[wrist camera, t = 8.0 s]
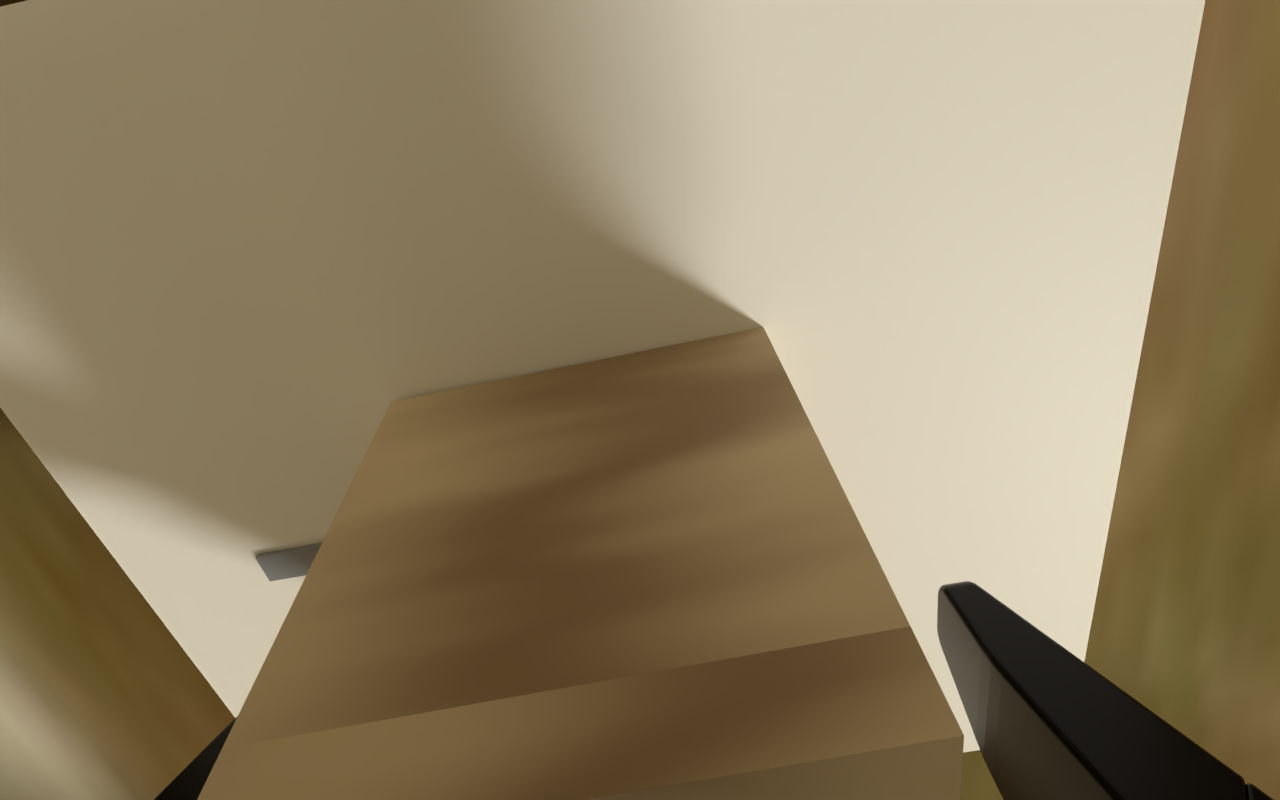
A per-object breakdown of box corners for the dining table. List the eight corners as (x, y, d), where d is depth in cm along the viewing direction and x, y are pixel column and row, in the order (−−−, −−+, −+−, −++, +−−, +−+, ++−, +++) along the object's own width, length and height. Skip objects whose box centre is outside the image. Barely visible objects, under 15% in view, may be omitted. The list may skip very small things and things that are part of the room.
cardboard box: (763, 326, 11) (977, 760, 5) (795, 599, 14) (953, 1084, 8) (391, 401, 11) (148, 899, 5) (500, 653, 14) (428, 1159, 8)
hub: (1047, 699, 18) (1209, 964, 13) (345, 806, 19) (255, 1086, 14) (1192, -261, 9) (1918, -563, 4) (-181, 59, 10) (-934, 136, 5)
